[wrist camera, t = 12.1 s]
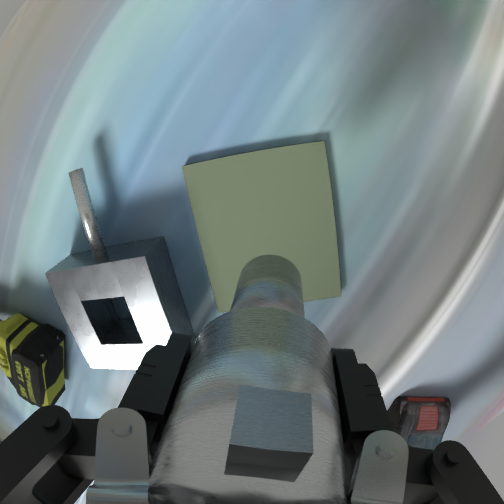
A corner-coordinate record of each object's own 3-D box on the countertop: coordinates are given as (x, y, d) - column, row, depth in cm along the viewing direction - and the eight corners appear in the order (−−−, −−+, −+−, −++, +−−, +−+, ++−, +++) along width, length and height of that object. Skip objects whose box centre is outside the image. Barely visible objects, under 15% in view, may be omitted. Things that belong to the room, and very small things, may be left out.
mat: (339, 292, 25) (341, 295, 24) (220, 308, 26) (218, 312, 25) (322, 140, 20) (324, 141, 20) (184, 165, 22) (181, 166, 21)
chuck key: (333, 224, 13) (416, 459, 3) (302, 343, 16) (303, 545, 6) (230, 207, 14) (110, 425, 4) (217, 330, 16) (159, 526, 6)
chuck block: (196, 339, 27) (186, 368, 24) (107, 343, 29) (91, 368, 25) (141, 149, 21) (117, 154, 18) (47, 182, 22) (18, 192, 19)
